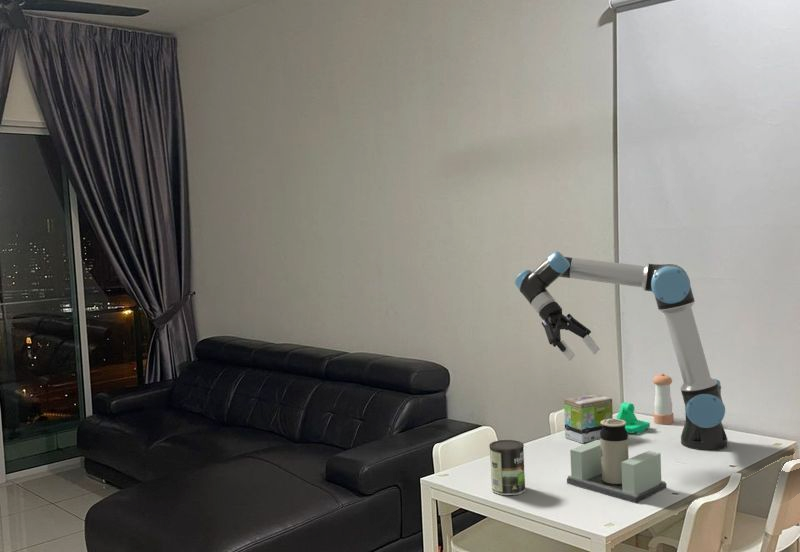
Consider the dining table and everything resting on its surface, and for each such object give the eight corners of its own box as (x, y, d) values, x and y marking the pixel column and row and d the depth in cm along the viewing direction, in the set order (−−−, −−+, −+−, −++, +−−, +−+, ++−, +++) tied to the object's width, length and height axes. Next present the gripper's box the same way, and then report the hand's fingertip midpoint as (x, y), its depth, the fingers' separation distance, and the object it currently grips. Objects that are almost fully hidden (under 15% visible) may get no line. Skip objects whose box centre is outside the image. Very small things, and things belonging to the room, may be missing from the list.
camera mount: (631, 436, 272) (630, 408, 271) (614, 432, 278) (613, 405, 277) (651, 429, 279) (650, 402, 278) (634, 425, 285) (633, 399, 284)
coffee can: (530, 486, 225) (528, 441, 224) (517, 498, 216) (515, 451, 215) (500, 482, 231) (497, 438, 230) (485, 493, 222) (483, 447, 221)
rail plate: (567, 483, 226) (566, 476, 226) (598, 470, 236) (597, 463, 236) (636, 503, 208) (635, 495, 207) (666, 488, 218) (666, 481, 218)
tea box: (582, 444, 264) (581, 403, 263) (564, 438, 273) (562, 398, 272) (614, 436, 271) (612, 397, 270) (595, 431, 280) (593, 392, 279)
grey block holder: (571, 478, 226) (570, 449, 225) (598, 467, 235) (597, 439, 234) (634, 496, 209) (633, 465, 208) (661, 483, 218) (660, 453, 217)
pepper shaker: (671, 425, 282) (670, 375, 281) (652, 423, 286) (650, 374, 284) (675, 420, 288) (673, 372, 287) (656, 418, 292) (654, 371, 291)
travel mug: (632, 478, 223) (630, 419, 222) (625, 486, 216) (622, 426, 215) (606, 474, 227) (604, 417, 226) (598, 482, 221) (596, 423, 220)
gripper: (563, 310, 265) (600, 356, 255) (517, 319, 249) (555, 367, 239) (575, 296, 261) (613, 342, 250) (529, 304, 245) (567, 353, 234)
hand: (584, 354), depth 245 cm, fingers open, 13 cm apart
